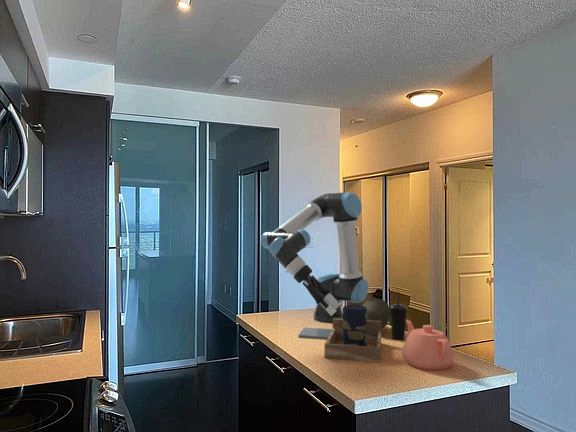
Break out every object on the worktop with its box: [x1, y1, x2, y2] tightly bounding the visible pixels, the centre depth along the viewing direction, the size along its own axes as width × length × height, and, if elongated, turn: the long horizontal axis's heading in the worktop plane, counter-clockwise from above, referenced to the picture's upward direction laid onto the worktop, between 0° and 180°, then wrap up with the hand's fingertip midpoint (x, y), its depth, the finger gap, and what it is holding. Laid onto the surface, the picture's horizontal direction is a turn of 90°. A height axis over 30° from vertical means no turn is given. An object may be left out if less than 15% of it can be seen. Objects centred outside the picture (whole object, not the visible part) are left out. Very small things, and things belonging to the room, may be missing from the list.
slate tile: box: [297, 327, 333, 340], centre depth 195 cm, size 14×14×1 cm
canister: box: [342, 303, 368, 346], centre depth 172 cm, size 10×10×18 cm
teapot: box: [402, 318, 455, 371], centre depth 158 cm, size 25×17×13 cm
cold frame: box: [323, 318, 382, 363], centre depth 172 cm, size 26×20×9 cm
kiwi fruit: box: [361, 297, 391, 330], centre depth 202 cm, size 14×14×15 cm
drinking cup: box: [388, 291, 408, 341], centre depth 190 cm, size 8×8×20 cm
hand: (336, 310), depth 173 cm, fingers open, 13 cm apart
